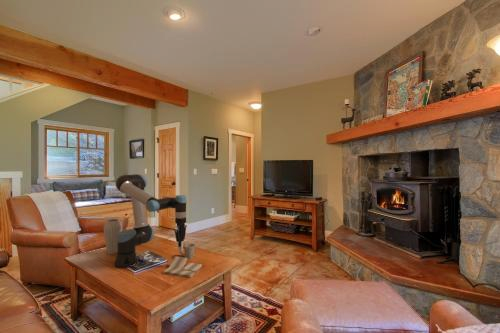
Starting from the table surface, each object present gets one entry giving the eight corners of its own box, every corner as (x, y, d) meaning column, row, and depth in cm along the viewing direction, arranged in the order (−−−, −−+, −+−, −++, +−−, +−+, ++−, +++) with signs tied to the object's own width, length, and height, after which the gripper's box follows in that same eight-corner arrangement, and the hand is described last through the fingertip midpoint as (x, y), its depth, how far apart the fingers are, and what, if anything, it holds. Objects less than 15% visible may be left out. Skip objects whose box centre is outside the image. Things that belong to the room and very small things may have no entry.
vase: (125, 251, 193) (125, 219, 193) (108, 257, 182) (108, 223, 182) (116, 248, 200) (116, 217, 200) (99, 253, 189) (100, 220, 189)
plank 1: (169, 269, 163) (168, 267, 162) (175, 257, 170) (174, 256, 169) (181, 270, 160) (180, 269, 159) (187, 259, 167) (186, 257, 166)
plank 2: (182, 271, 160) (182, 269, 160) (189, 264, 169) (189, 262, 169) (195, 273, 158) (195, 270, 157) (201, 266, 166) (201, 264, 166)
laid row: (161, 274, 156) (161, 271, 156) (175, 263, 172) (175, 261, 172) (191, 279, 150) (191, 276, 150) (203, 267, 167) (203, 265, 167)
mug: (191, 260, 178) (192, 247, 178) (176, 259, 181) (176, 246, 180) (196, 256, 186) (196, 244, 186) (181, 255, 189) (182, 242, 189)
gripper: (180, 219, 159) (180, 254, 159) (190, 215, 172) (189, 248, 172) (170, 219, 161) (170, 253, 161) (180, 215, 174) (180, 247, 174)
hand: (180, 250), depth 167 cm, fingers closed
